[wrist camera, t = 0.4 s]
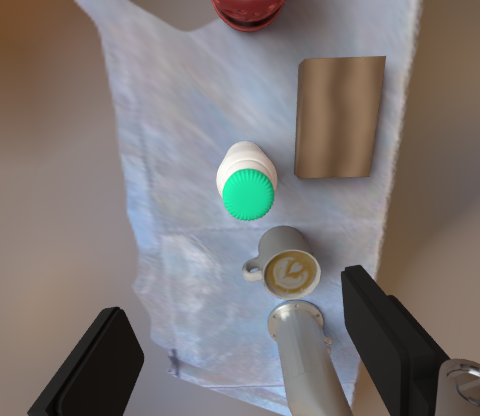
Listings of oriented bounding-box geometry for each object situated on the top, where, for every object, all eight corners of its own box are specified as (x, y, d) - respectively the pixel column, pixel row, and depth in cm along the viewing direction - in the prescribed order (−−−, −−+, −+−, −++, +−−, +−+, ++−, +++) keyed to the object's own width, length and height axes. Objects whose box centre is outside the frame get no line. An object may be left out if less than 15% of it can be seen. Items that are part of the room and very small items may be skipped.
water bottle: (260, 182, 46) (280, 240, 23) (223, 176, 46) (204, 230, 22) (267, 143, 44) (297, 164, 20) (228, 138, 44) (212, 151, 20)
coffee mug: (306, 223, 49) (321, 247, 39) (306, 266, 52) (320, 298, 43) (239, 229, 49) (239, 253, 40) (243, 271, 52) (244, 303, 43)
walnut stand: (372, 62, 40) (386, 56, 36) (358, 172, 46) (369, 176, 42) (298, 65, 40) (304, 58, 36) (294, 174, 46) (298, 178, 42)
